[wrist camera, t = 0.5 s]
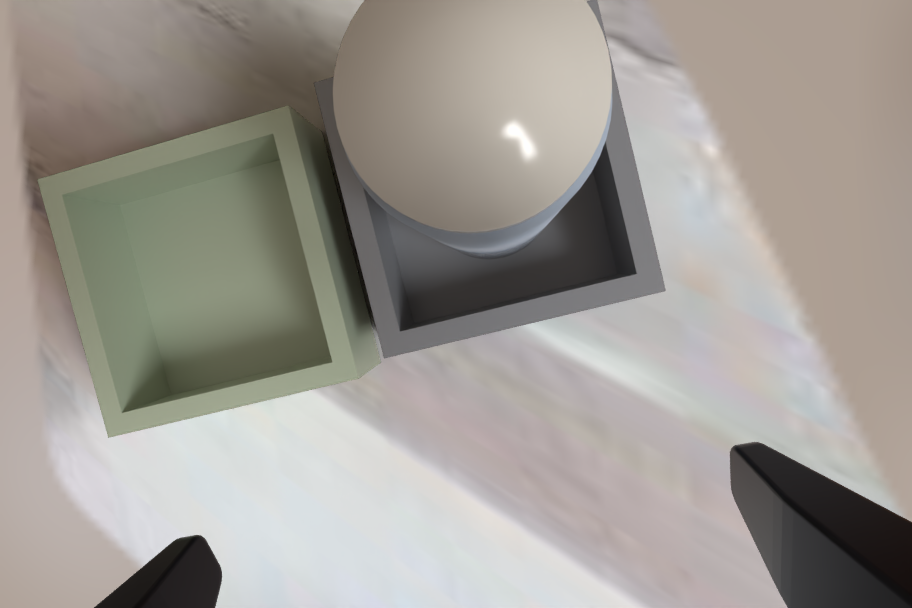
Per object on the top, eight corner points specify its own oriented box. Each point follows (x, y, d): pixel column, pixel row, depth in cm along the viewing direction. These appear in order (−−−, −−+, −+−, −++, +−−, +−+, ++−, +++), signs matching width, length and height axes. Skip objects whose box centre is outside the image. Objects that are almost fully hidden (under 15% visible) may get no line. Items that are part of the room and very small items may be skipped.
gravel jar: (564, 242, 21) (653, 196, 9) (444, 272, 22) (364, 270, 9) (534, 120, 21) (581, -106, 8) (414, 153, 21) (292, -14, 9)
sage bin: (381, 362, 23) (358, 378, 19) (166, 413, 24) (108, 437, 20) (322, 131, 22) (288, 105, 19) (107, 193, 23) (37, 179, 20)
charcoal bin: (639, 288, 21) (665, 291, 18) (402, 345, 22) (384, 358, 19) (581, 44, 21) (596, -2, 18) (343, 113, 22) (313, 83, 19)
